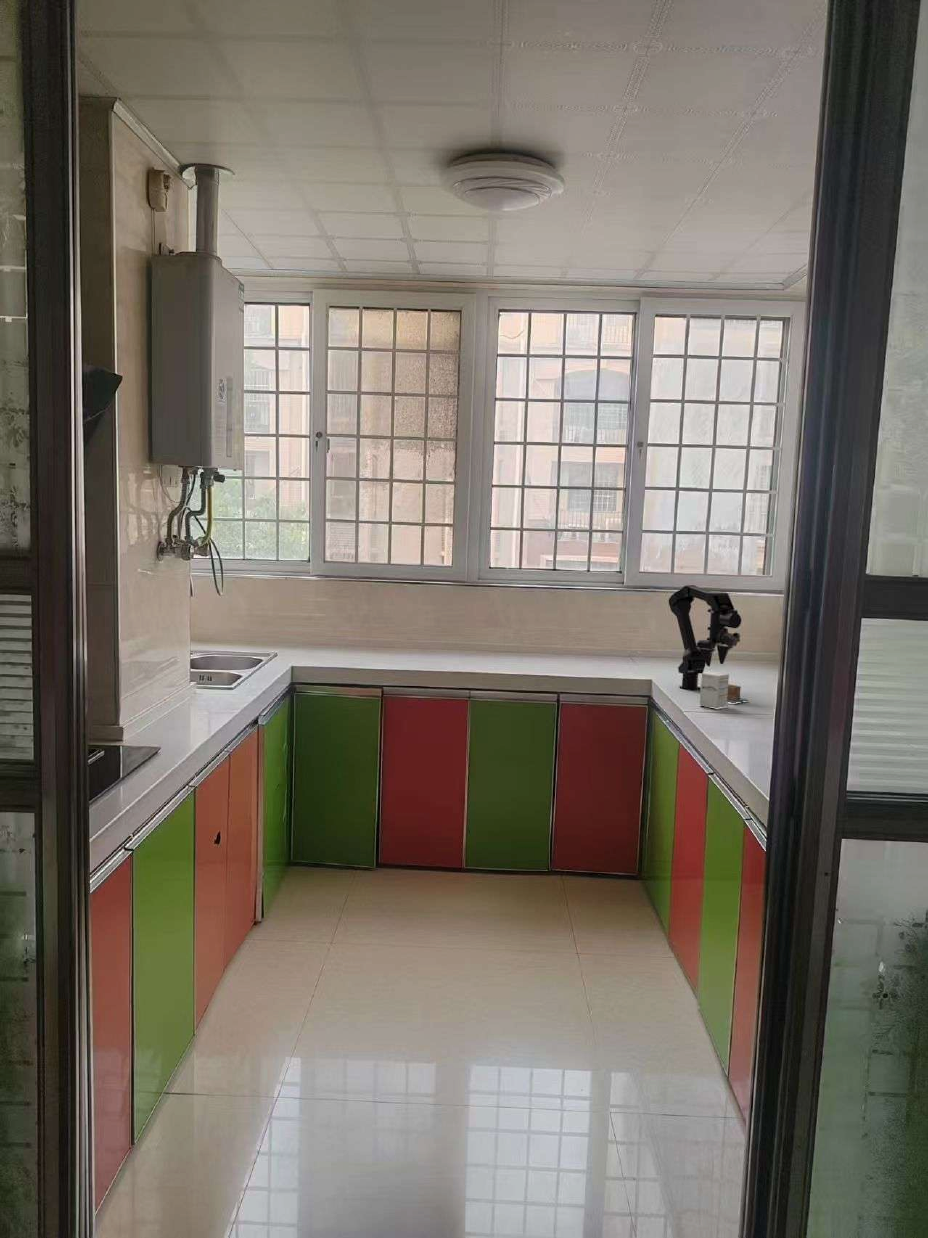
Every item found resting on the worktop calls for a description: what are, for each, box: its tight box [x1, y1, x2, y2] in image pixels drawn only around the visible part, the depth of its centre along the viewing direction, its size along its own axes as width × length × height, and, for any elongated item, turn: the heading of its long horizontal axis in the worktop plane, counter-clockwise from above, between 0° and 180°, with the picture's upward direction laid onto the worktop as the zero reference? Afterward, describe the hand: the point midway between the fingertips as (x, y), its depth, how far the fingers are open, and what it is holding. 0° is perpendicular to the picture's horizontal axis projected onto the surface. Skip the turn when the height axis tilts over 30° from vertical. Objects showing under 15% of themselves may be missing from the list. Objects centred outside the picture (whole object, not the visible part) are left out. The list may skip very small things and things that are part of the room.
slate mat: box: [727, 697, 749, 703], centre depth 366 cm, size 10×9×1 cm
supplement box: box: [699, 670, 730, 708], centre depth 354 cm, size 7×7×13 cm
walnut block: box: [727, 683, 742, 701], centre depth 366 cm, size 5×5×5 cm
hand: (715, 665), depth 375 cm, fingers open, 9 cm apart
